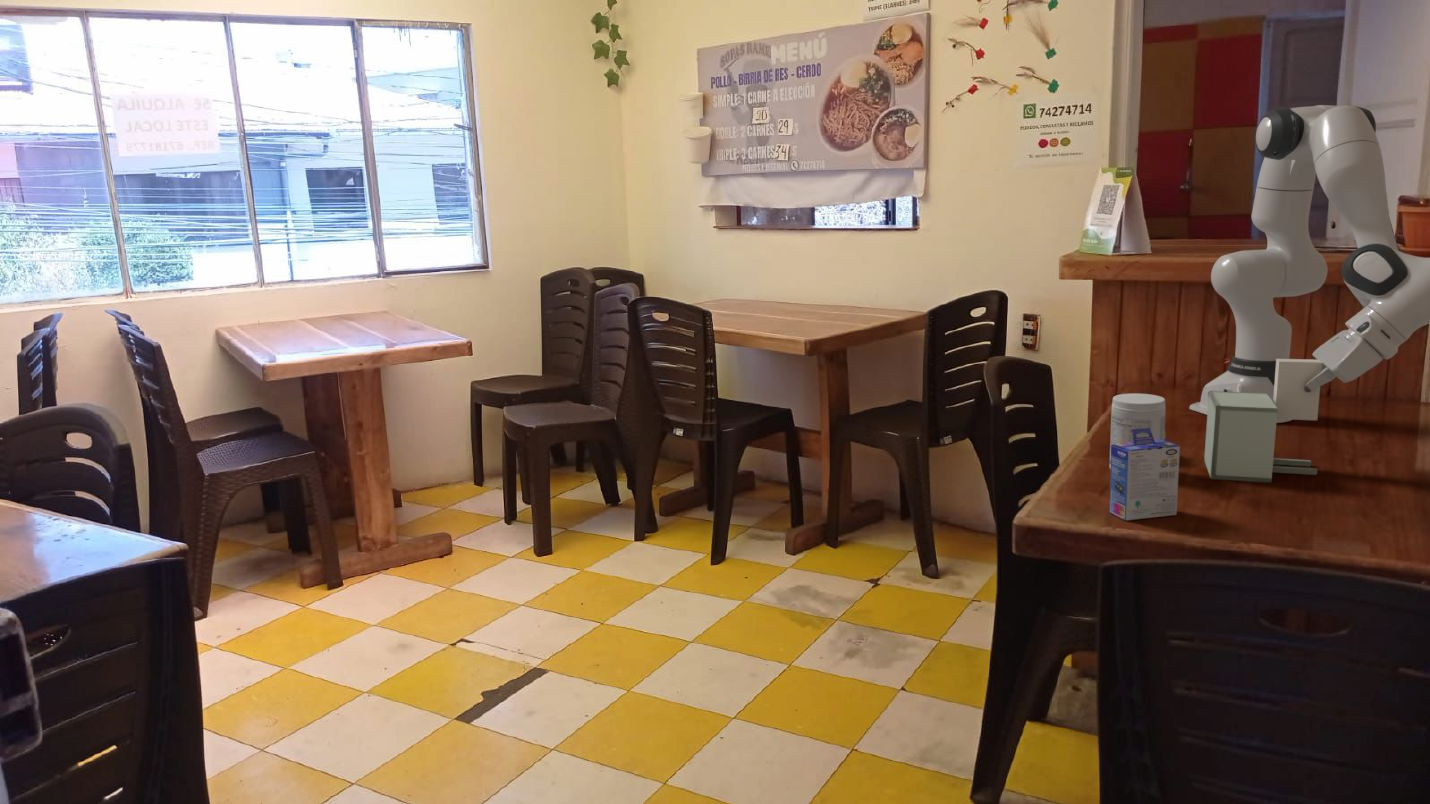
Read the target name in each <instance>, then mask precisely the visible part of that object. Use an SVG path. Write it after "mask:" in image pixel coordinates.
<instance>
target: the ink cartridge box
mask: <svg viewBox="0 0 1430 804" xmlns="http://www.w3.org/2000/svg"><path fill="white" fill-rule="evenodd" d="M1131 432H1132V438H1133V441H1134V442H1129V443H1121V444H1112V445H1111V469H1110V478H1109V479H1110V482H1109V487H1110V488H1109V513H1110V514H1112V515H1114V516H1116V517H1118V518H1119V519H1122V520H1123V521H1135V520H1142V519H1152V518H1162V517H1170V516H1171V517H1172V516H1176V515H1177V512H1178V493H1179V490H1178V489H1179V471H1180V470H1179V469H1180V455H1181V454H1180V452H1181V451H1180V450H1181V446H1180V445H1179V444H1176V443H1174V442H1171V441H1168V440H1166V439H1165V440H1163V439H1156V440H1154V438H1153V435H1152V432H1151V430H1150V428H1145V429H1131ZM1139 433H1147V434H1149V437H1141V438H1137V437H1136V434H1139Z"/></svg>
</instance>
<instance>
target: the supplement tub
mask: <svg viewBox="0 0 1430 804" xmlns="http://www.w3.org/2000/svg"><path fill="white" fill-rule="evenodd" d="M1110 412H1111V415H1110V417H1111V418H1110V439H1109V440H1110V442H1109V443H1110V444H1109V469H1110V470H1111V445H1112V444H1121V443H1129V442H1134V441H1133V438H1132V432H1131V429H1145V428H1150V430H1151V432H1152V435H1153V438H1154V440H1156V439H1163V440H1164V431H1165V432H1166V429H1165V427H1166V425H1165V424H1166V399H1165V398H1164V397H1163V396H1160V395H1155V394H1150V393H1149V394H1148V393H1131V392H1130V393H1122V394H1117V395H1115V396H1113V397H1112V403H1111V411H1110ZM1136 437H1137V438H1141V437H1149V434H1147V433H1139V434H1136Z"/></svg>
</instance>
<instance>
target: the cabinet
mask: <svg viewBox="0 0 1430 804" xmlns="http://www.w3.org/2000/svg"><path fill="white" fill-rule="evenodd" d="M1277 410H1278V408H1277V407H1276V405H1275V404H1274V403H1273V401H1272V400H1271V399H1270V397H1269V396H1268V395H1267V393H1243V392H1215V391H1209V398H1208V412H1207V416H1206V429H1205V442H1204V443H1205V445H1204V455H1203V456H1204V458H1203V459H1204V460H1203V461H1204V464H1205V467H1206V469H1207V472H1208V474H1209V475H1208V476H1209V477H1210V480H1223V481H1235V482H1236V481H1239V482H1255V483H1267V484H1269V483H1270V484H1271V483H1272V480H1273V479H1272V478H1273V473H1279V474H1280V473H1281V474H1295V475H1296V474H1297V475H1310V476H1311V475H1312V476H1317V474H1318V469H1317V468H1313V467H1312V461H1311V460H1310V459H1294V458H1293V459H1292V458H1277V457H1275V456H1274V455H1275V444H1276V431H1277V423H1276V422H1277Z"/></svg>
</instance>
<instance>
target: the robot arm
mask: <svg viewBox="0 0 1430 804" xmlns="http://www.w3.org/2000/svg"><path fill="white" fill-rule="evenodd" d="M1376 129H1377V123H1376V119H1375V115H1374V114H1373V113H1372V112H1371V111H1370V110H1369V109H1367V108H1364V107H1361V106H1357V105H1356V106H1355V105H1345V104H1344V105H1329V104H1327V105H1326V104H1319V105H1314V106H1313V105H1312V106H1300V107H1299V106H1297V107H1292V108H1291V107H1290V108H1289V107H1286V106H1285V107H1284V106H1283V107H1280V108H1279V107H1278V108H1275V109H1271V110H1269V111H1267V112H1266V113H1265V114H1264V115H1263V116H1261V119H1260V120H1259V122H1258V123H1257V127H1256V129H1255V130H1256V131H1255V135H1254V136H1255V139H1254V140H1255V147H1256V150H1257V152H1258V153H1259V154H1260V155H1261V156H1262V157H1263V161H1262V163H1261V167H1260V170H1259V174H1258V177H1257V181H1256V189H1255V194H1254V199H1253V205H1252V210H1251V221H1252V223H1253V225H1254V226H1255V227H1256V229H1258V230H1259V231H1261V232H1263V233H1265V234H1264V235H1265V236H1266V239H1267V244H1266V246H1267V247H1266V248H1265V249H1250V250H1247V249H1246V250H1239V251H1235V252H1232V253H1227V254H1225V255H1221V256H1220V257H1219V258H1217V260H1216V261H1215V263H1214V264H1213V266H1212V269H1211V272H1210V281H1211V285H1212V287H1213V289H1214V291H1215V292H1216V293H1217V294H1218V295H1219V296H1220V297H1222V298H1223V299H1224V300H1225V301H1226V302H1227V304H1228V305H1229V307H1230V309H1231V311H1232V313H1233V317H1234V321H1235V350H1234V351H1235V352H1234V353H1235V355H1233V356H1232V357H1230V358H1229V357H1228V358H1225V359H1224V361H1225V362H1224V364H1229V365H1228V368H1227V370H1226V371H1225V372H1223V373H1222V374H1220V375H1218V376H1217V377H1216V378H1213V379H1212V380H1211V381H1209V382H1208V383H1207V384H1205V385H1204V387H1203V389H1202V391H1201V396H1200V401H1197V402H1194V403H1192V404H1189V407H1188V408H1189V410H1192V411H1195V412H1197V413H1201V414H1204V415H1207V412H1208V398H1209V391H1215V392H1243V393H1267V395H1268V396H1269V397H1270V399H1271V400H1272V401H1273V396H1274V383H1275V370H1276V359H1291V358H1290V357H1291V356H1290V353H1291V342H1292V332H1293V331H1292V330H1293V329H1292V325H1291V323H1290V322H1289V320H1287V319H1286V318H1285V317H1283V316H1281V315H1280V314H1278V313H1277V311H1276V309H1275V305H1274V298H1287V297H1288V298H1289V297H1299V296H1303V295H1307V294H1310V293H1313V292H1316V291H1318V290H1319V289H1321V287H1322V286H1323V285H1324V284H1325V281H1326V279H1327V276H1328V265H1327V264H1328V263H1327V262H1326V261H1327V260H1326V259H1325V257H1324V256H1323V254H1321V253H1320V252H1319V251H1318V250H1317V249H1316V247H1315V246H1314V244H1313V243H1312V242H1313V241H1312V239H1311V237H1310V230H1309V219H1310V211H1311V203H1312V201H1313V200H1312V199H1313V194H1314V188H1315V184H1316V177H1317V181H1319V185H1320V187H1321V189H1322V191H1323V193H1324V194H1325V196H1326V197H1327V199H1328V200H1329V201H1330V203H1331V204H1332V206H1333V207H1334V208H1335V209H1336V210H1337V212H1338V213H1339V215H1341V217H1342V218H1343V219H1344V221H1345V222H1346V223H1347V225H1348V227H1349V228H1350V230H1351V232H1352V235H1353V237H1354V240H1355V243H1356V247H1357V248H1356V249H1355V250H1353V251H1352V252H1351V253H1350V254H1349V255H1347V256H1346V258H1345V259H1344V261H1343V263H1342V265H1341V276H1342V279H1343V282H1344V283H1345V285H1346V286H1347V287H1348V289H1349V290H1350V291H1351V293H1352V294H1353V296H1355V298H1356V299H1357V300H1358V302H1359V303H1360V305H1361V308H1362V309H1361V310H1360V311H1358V312H1357V313H1356V314H1355V315H1353V316H1352V317H1351V318H1349V319H1348V320H1347V321H1346V322H1345V323H1344V324H1345V326H1346V327H1347V328H1348V329H1344V330H1341V331H1340V332H1338V333H1336V334H1335V335H1334V336H1332V337H1331V338H1330V339H1328V340H1327V341H1325V342H1324V343H1323V344H1321V345H1320V346H1318V347H1317V348H1316V349H1315V350H1314V351H1313V353H1312V354H1311V355H1312V356H1313V358H1315V360H1320V361H1321V362H1322V371H1321V373H1320V374H1318V375H1317V376H1315V377H1314V378H1313V377H1312V378H1311V379H1310V380H1309V381H1307V382H1306V383H1305V384H1306V386H1307V387H1308V388H1309V389H1310V390H1311V391H1315V390H1316V389H1317V388H1319V387H1320V388H1321V386H1324V385H1325V384H1326V385H1327V384H1328V383H1329V382H1332V381H1334V379H1336V378H1337V379H1339V380H1340V381H1341V382H1342V383H1344V384H1347V383H1349V382H1353V381H1354V380H1356V379H1357V378H1359V377H1361V376H1362V375H1363V374H1365V373H1366V372H1368V371H1371V369H1373V368H1374V367H1376V366H1377V365H1379V364H1380V363H1381V361H1383V359H1385V360H1390V359H1391V358H1393V357H1394V356H1395V355H1396V354H1398V352H1399V347H1400V346H1401V345H1402V344H1403V343H1405V342H1406V341H1408V339H1410V337H1411V336H1412V335H1413V333H1414V332H1415V331H1417V330H1418V329H1420V328H1422V327H1424V326H1426V325H1428V324H1430V257H1423V256H1416V255H1412V254H1409V253H1404V252H1403V251H1401V250H1399V245H1398V242H1397V239H1396V236H1395V235H1396V234H1395V232H1394V229H1393V224H1392V222H1391V217H1390V210H1389V204H1388V196H1387V195H1388V193H1387V186H1386V185H1387V184H1386V176H1385V175H1386V174H1385V165H1384V161H1383V160H1384V159H1383V154H1382V150H1381V146H1380V144H1379V139H1378V137H1377V134H1376V132H1377V130H1376ZM1291 421H1292V419H1277V422H1276V424H1281V423H1282V424H1283V423H1287V422H1291Z"/></svg>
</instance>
